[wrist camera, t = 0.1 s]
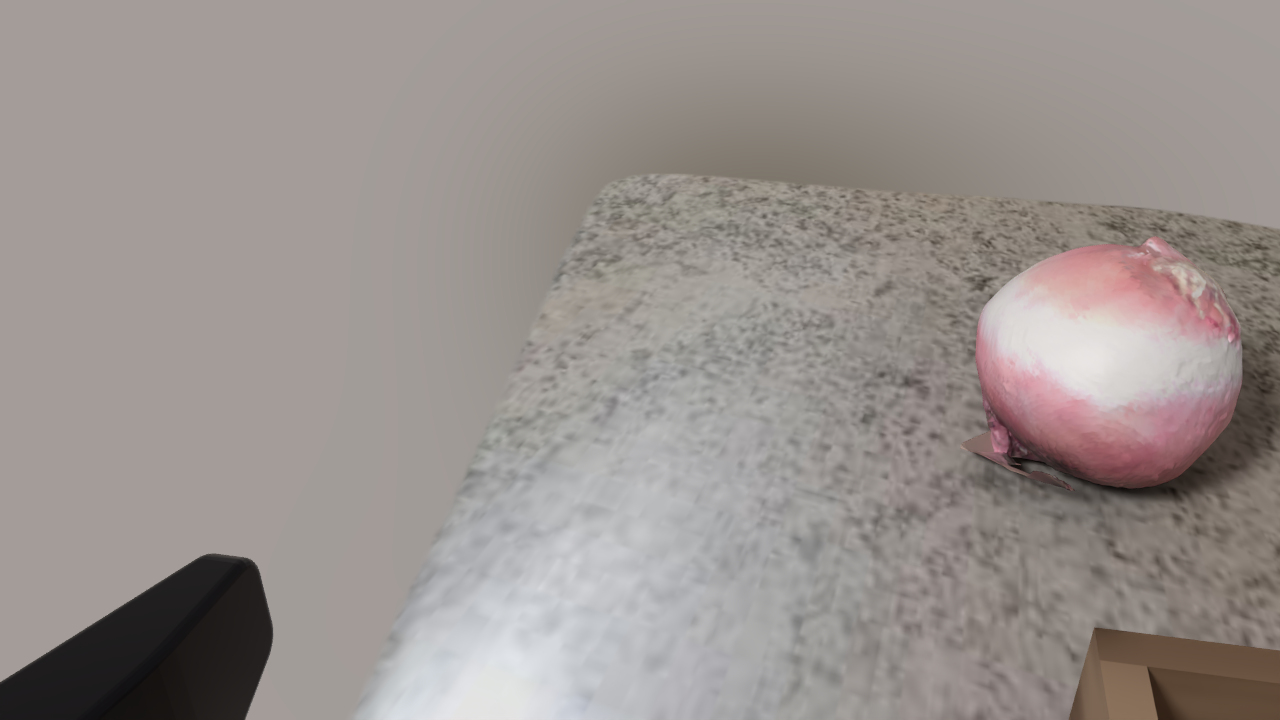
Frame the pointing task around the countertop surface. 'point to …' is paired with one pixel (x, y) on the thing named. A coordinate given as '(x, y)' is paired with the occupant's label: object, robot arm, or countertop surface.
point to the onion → (1108, 365)
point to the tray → (1175, 679)
